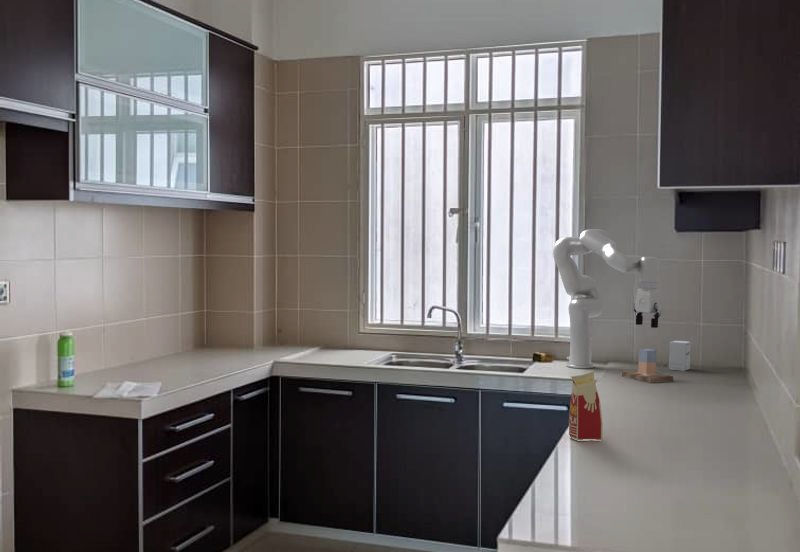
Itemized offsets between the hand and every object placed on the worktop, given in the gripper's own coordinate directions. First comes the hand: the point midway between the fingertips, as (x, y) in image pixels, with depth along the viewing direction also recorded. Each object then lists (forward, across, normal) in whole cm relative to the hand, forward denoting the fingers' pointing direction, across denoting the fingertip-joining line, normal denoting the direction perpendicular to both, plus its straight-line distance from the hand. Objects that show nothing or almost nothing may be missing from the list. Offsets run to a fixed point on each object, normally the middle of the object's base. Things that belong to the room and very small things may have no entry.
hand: (646, 326), depth 345 cm
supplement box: (+22, -10, +28) cm, 37 cm away
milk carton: (+21, +79, -87) cm, 120 cm away
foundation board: (+22, +4, -2) cm, 22 cm away
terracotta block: (+20, +4, -2) cm, 20 cm away
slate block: (+15, +4, -2) cm, 15 cm away
